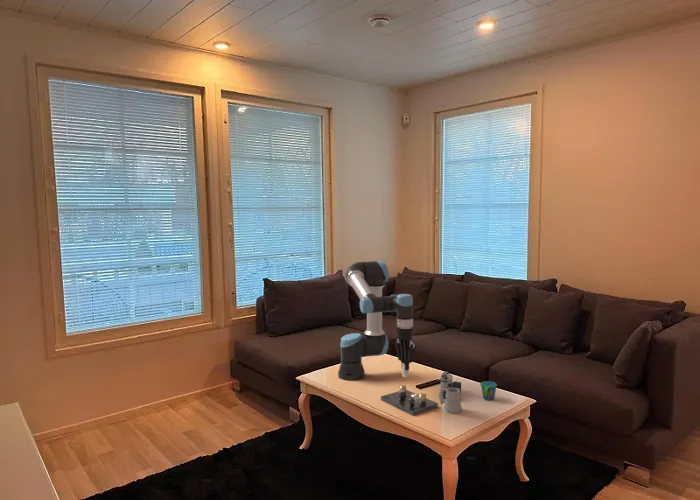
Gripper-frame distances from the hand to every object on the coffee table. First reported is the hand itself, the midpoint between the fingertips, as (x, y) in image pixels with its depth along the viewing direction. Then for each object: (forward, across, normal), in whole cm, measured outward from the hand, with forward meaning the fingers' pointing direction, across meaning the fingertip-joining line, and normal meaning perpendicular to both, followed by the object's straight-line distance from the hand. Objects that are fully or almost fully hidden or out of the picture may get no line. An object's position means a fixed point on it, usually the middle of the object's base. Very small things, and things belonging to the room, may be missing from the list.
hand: (405, 376), depth 237 cm
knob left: (+13, -8, +6) cm, 16 cm away
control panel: (+15, -2, +4) cm, 15 cm away
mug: (+15, +14, +14) cm, 25 cm away
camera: (+15, +1, +29) cm, 33 cm away
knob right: (+13, +6, +6) cm, 15 cm away
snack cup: (+15, +16, +40) cm, 46 cm away
